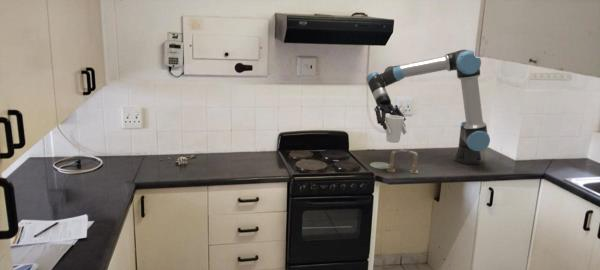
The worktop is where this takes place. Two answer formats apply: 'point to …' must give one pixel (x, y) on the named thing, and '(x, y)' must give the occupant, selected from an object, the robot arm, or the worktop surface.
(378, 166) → the coaster
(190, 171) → the worktop surface
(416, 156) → the pull handle
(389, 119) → the foam cup
